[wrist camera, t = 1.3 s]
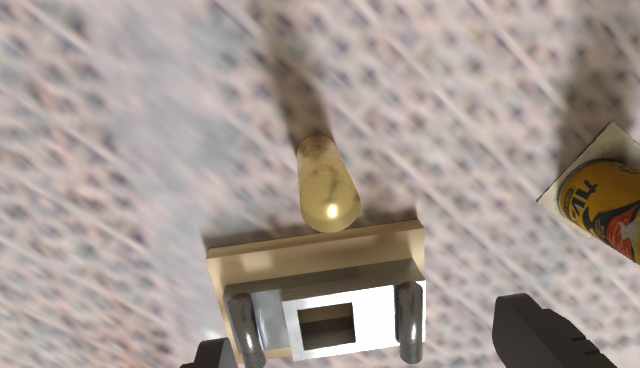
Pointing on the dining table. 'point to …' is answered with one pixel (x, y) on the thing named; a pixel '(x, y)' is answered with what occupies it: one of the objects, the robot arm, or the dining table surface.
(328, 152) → the brass pin
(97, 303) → the dining table surface
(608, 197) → the condiment
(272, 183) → the dining table surface
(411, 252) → the clamp block fixture
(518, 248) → the dining table surface
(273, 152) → the dining table surface
